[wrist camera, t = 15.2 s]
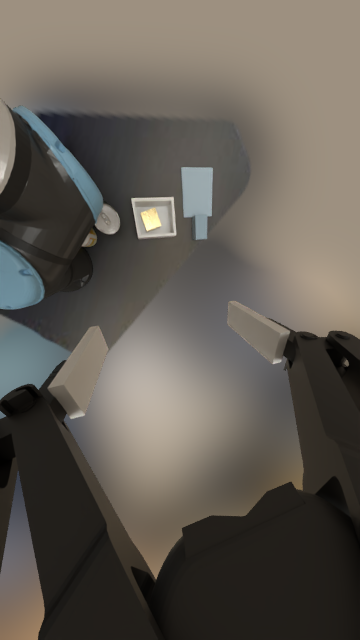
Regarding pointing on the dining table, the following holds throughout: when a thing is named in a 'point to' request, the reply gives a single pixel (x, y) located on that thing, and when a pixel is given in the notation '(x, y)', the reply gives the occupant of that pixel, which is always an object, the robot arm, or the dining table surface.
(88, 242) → the supplement bottle
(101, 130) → the dining table surface
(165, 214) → the tub
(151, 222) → the brass part
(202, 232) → the lid
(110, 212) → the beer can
